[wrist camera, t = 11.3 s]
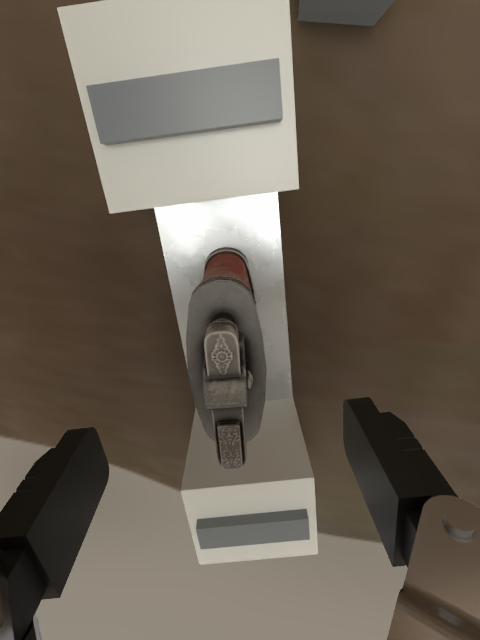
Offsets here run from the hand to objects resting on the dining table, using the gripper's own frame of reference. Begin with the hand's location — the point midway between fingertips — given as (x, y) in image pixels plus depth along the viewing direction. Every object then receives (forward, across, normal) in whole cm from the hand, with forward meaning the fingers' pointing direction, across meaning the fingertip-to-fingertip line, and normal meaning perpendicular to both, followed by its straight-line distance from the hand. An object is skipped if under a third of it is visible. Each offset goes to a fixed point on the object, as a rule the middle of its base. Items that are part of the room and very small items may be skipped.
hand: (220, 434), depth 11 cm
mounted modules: (+11, 0, 0) cm, 11 cm away
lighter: (+12, 0, 0) cm, 12 cm away
